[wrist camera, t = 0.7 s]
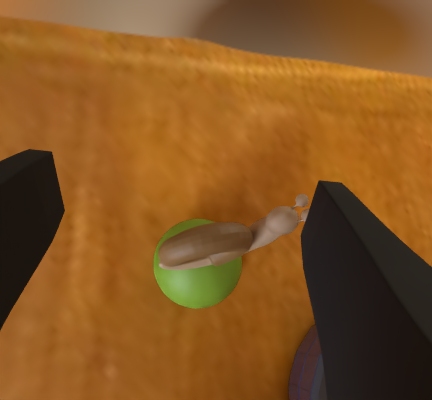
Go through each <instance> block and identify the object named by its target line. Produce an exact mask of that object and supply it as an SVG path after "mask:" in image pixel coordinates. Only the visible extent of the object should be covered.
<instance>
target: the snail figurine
mask: <svg viewBox="0 0 432 400" xmlns="http://www.w3.org/2000/svg"><path fill="white" fill-rule="evenodd" d="M308 202H309V201H308V197H307V196H306V195H305V194H299V195H298V196H297V197H296V205H295V206H293V207H288V206H279V207H276V208H274V209H273V210H272V211H271V212H270V213H269V214H268V216H266V217H263V218H261V219H259V220H258V221H256V222H254V223H253V224H252V225H251V226H249V227H247V226H245V225H243V224H241V223H237V222H213V221H210V220H206V219H190V220H186V221H183V222H180V223H178V224H176V225H175V226H173V227H172V228H170V229H169V230H168V231H167V232H166V233H165V234H164V235H163V237H162V238H161V240H160V241H159V243H158V245H157V247H156V250H155V254H154V261H153V267H154V274H155V278H156V281H157V283H158V285H159V287H160V288H161V290H162V291H163V293H164V294H165V295H166V296H167V297H168V298H169V299H171V300H172V301H174V302H175V303H177V304H179V305H181V306H184V307H188V308H206V307H210V306H213V305H215V304H217V303H219V302H221V301H222V300H224V299H225V298H226V297H227V296H228V295H229V294H230V293H231V292H232V291H233V289H234V288H235V286H236V285H237V283H238V280H239V277H240V274H241V268H242V258H241V256H242V255H244V254H245V253H247V252H249V251H251V250H254V249H256V248H259V247H262V246H264V245H267V244H269V243H271V242H272V241H274V240H276V239H277V238H278V237H279V236H281V235H285V234H289V233H291V232H292V231H293V230H295V228H296V227H297V225H298V223H299V222H301V221H306V218H307V215H308V212H309V209H305V210H303V211H302V213H301V218H302V219H301V220H299V216H298V213H297V212H296V211H295V210H294V208H295V207H297V206H299V207H305V206H307V205H308Z"/></svg>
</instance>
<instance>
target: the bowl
mask: <svg viewBox="0 0 432 400" xmlns="http://www.w3.org/2000/svg"><path fill="white" fill-rule="evenodd" d="M289 400H327V393H326V384H325V375H324V367H323V358H322V353H321V347H320V342H319V337H318V333H317V328H316V324H315V325H314V326H312V327H311V329H310V330H309V332H308V334H307V335H306V337H305V338H304V340H303V342H302V343H301V345H300V346H299V348H298V350H297V352H296V355H295V359H294V363H293V367H292V371H291V375H290V379H289Z"/></svg>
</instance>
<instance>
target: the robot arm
mask: <svg viewBox="0 0 432 400" xmlns="http://www.w3.org/2000/svg"><path fill="white" fill-rule="evenodd" d="M64 212H65V209H64V205H63V200H62V196H61V191H60V187H59V182H58V177H57V173H56V168H55V164H54V159H53V155H52V152H50V151H41V150H32V149H28V150H26V151H23V152H20V153H18V154H15V155H13V156H11V157H9V158H6V159H4V160H2V161H0V330H1V328H2V326H3V324H4V322H5V321H6V319H7V317H8V315H9V313H10V311H11V310H12V308H13V306H14V305H15V303H16V301H17V300H18V298H19V296H20V295H21V293H22V291H23V290H24V288H25V286H26V285H27V283H28V281H29V280H30V278H31V277H32V275H33V273H34V272H35V270H36V268H37V267H38V265H39V263H40V262H41V260H42V258H43V256H44V255H45V253H46V251H47V250H48V248H49V246H50V244H51V243H52V241H53V239H54V236H55V234H56V232H57V229H58V227H59V224H60V222H61V219H62V217H63V214H64ZM301 247H302V259H303V269H304V274H305V278H306V283H307V288H308V292H309V297H310V301H311V306H312V310H313V315H314V319H315V324H316V328H317V333H318V337H319V342H320V347H321V353H322V358H323V367H324V375H325V384H326V393H327V400H432V267H431V266H430V265H429V264H427V263H426V262H425V261H424V260H423V259H422V258H420V257H419V256H418V255H417V254H416V253H415V252H414V251H412V250H411V249H410V248H409V247H408V246H407V245H406V244H404V243H403V242H402V241H401V240H400V239H399V238H398V237H397V236H396V235H395V234H394V233H393V232H392V231H390V230H389V229H388V228H387V227H386V226H385V225H384V224H383V223H382V222H381V221H380V220H379V219H378V218H377V217H376V216H375V215H374V214H373V213H372V212H371V211H370V210H369V209H368V208H367V207H366V206H365V205H364V204H363V203H362V202H361V201H360V200H359V199H358V198H357V197H356V196H355V195H354V194H353V193H352V192H351V191H350V190H349V189H348V188H347V187H346V186H344V185H343V184H342V183H339V182H329V181H320V180H319V181H318V184H317V188H316V191H315V194H314V197H313V200H312V203H311V206H310V209H309V212H308V215H307V218H306V221H305V224H304V227H303V230H302V233H301Z"/></svg>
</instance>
